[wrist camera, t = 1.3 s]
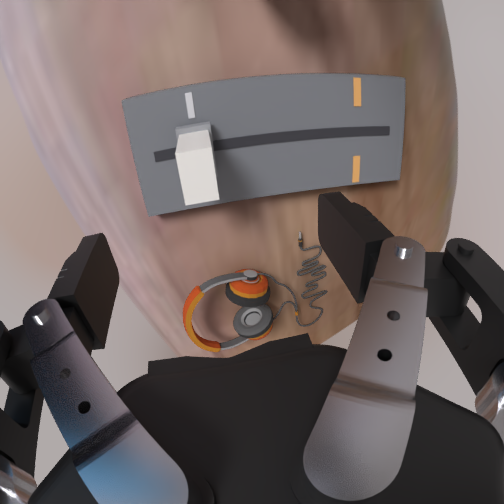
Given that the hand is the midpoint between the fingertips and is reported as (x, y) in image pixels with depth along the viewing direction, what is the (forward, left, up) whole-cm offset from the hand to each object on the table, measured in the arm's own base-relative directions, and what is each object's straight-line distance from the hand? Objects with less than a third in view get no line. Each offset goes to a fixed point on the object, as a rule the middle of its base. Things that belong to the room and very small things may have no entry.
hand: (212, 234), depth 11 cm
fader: (+2, -1, -18) cm, 18 cm away
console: (+2, +7, -21) cm, 22 cm away
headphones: (+22, +4, -21) cm, 31 cm away
